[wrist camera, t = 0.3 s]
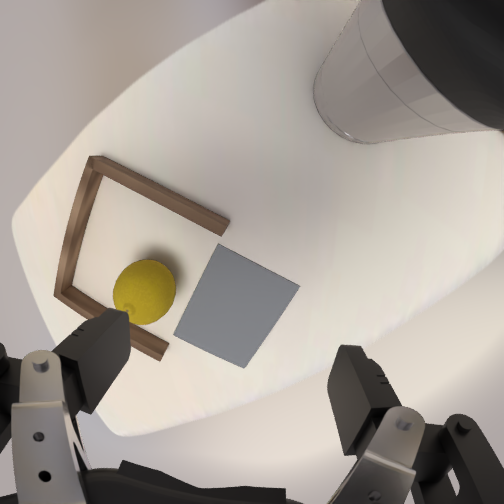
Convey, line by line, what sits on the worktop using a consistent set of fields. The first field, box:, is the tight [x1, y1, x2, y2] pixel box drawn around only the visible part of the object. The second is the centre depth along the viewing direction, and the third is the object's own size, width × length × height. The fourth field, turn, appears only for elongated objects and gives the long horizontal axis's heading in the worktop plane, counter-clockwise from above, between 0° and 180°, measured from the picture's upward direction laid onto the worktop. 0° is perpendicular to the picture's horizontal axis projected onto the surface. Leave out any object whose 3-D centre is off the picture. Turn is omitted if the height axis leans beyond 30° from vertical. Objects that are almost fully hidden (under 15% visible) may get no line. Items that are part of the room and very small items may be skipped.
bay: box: [54, 156, 230, 361], centre depth 27 cm, size 17×15×2 cm
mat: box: [173, 244, 300, 368], centre depth 30 cm, size 12×9×1 cm
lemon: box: [113, 260, 176, 325], centre depth 25 cm, size 6×6×8 cm
